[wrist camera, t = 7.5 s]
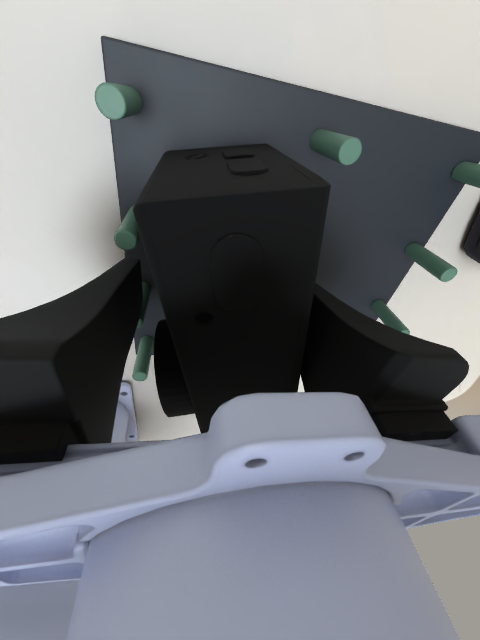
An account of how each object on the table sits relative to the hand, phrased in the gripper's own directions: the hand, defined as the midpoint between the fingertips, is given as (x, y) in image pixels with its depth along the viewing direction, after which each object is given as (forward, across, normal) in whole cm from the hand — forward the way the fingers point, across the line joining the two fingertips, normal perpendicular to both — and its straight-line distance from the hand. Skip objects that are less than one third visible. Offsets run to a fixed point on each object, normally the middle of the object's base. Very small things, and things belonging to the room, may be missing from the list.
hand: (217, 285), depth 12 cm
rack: (+3, -4, 0) cm, 5 cm away
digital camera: (+3, 0, 0) cm, 3 cm away
